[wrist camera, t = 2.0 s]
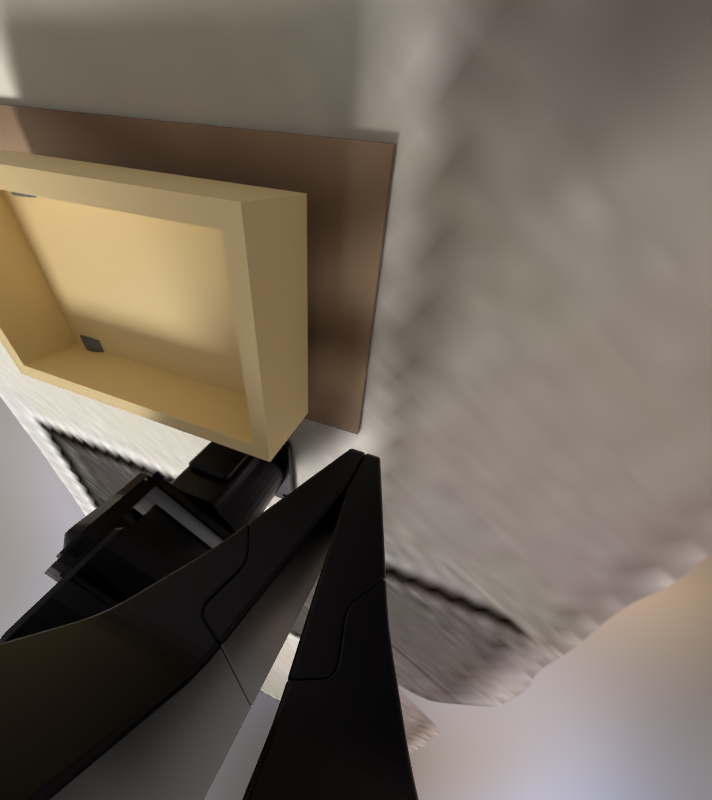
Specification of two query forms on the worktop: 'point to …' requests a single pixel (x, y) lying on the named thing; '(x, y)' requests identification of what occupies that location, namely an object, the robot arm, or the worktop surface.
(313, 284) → the brown board
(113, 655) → the robot arm
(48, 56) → the worktop surface
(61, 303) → the wooden tray
